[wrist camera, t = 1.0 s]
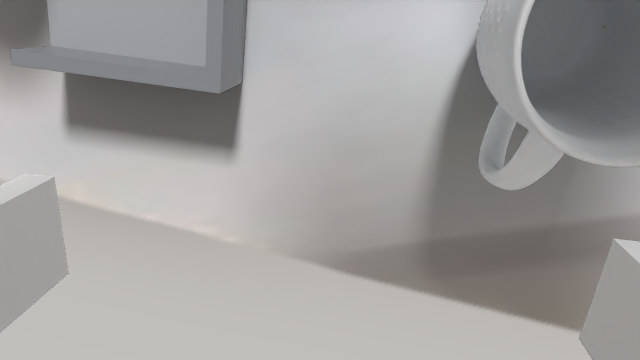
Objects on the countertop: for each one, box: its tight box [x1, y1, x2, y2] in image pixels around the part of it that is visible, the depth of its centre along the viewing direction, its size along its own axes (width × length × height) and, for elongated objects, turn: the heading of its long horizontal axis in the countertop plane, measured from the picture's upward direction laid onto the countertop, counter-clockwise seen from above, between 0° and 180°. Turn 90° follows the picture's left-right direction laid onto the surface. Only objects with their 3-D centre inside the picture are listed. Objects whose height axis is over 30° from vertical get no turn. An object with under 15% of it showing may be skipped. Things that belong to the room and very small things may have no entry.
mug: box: [476, 0, 640, 190], centre depth 25 cm, size 15×11×13 cm
